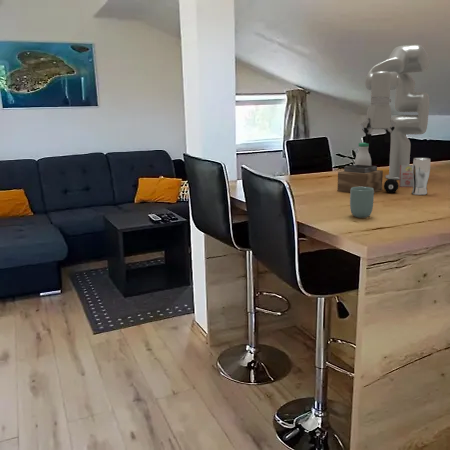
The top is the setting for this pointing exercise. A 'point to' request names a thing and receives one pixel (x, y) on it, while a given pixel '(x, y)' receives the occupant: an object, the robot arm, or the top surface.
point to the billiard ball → (391, 185)
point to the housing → (360, 177)
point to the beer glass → (420, 175)
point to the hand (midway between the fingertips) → (377, 143)
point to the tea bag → (406, 176)
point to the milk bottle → (363, 155)
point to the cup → (361, 201)
